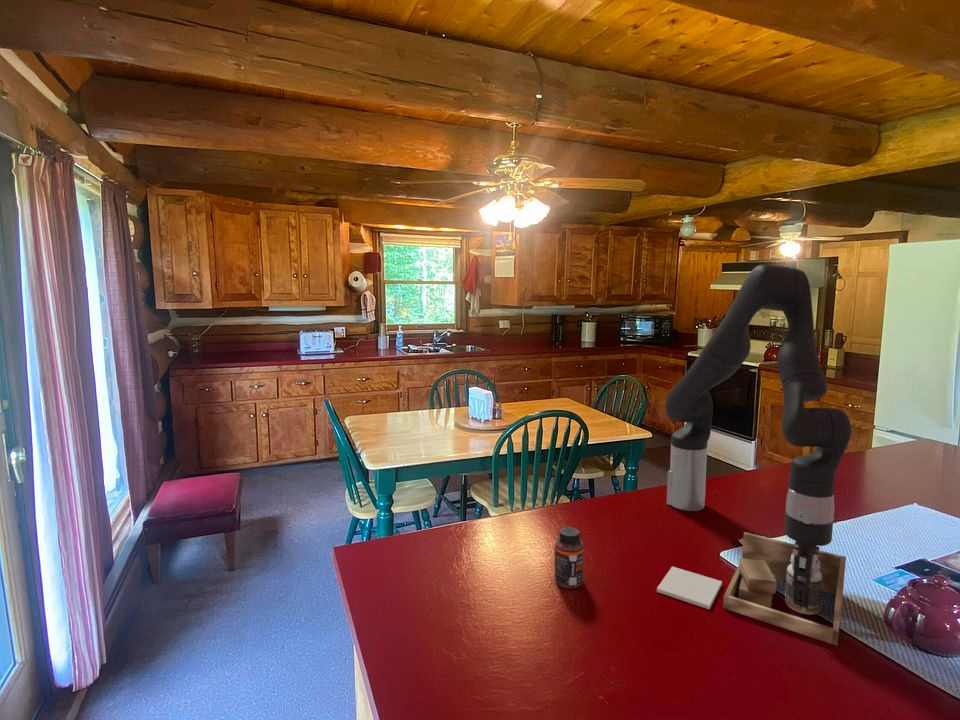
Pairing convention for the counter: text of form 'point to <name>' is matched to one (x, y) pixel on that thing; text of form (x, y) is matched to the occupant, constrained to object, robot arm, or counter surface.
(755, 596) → the offcut block lower
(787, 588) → the pill bottle
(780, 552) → the wooden box frame
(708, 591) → the tile
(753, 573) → the offcut block upper
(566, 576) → the supplement bottle
